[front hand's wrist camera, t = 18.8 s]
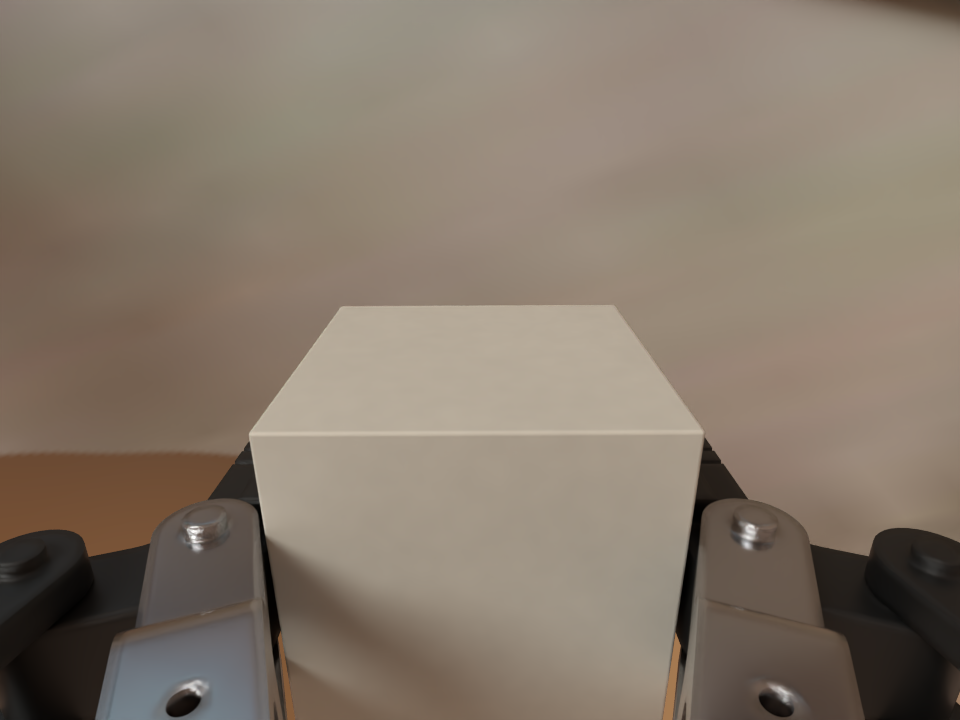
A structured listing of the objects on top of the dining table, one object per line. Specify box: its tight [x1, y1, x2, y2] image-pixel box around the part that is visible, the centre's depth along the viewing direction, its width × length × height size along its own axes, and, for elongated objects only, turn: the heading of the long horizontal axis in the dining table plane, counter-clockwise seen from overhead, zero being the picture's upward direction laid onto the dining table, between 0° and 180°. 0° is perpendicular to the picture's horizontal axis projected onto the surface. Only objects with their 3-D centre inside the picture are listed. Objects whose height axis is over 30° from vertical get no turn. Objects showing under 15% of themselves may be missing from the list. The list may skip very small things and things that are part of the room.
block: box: [249, 305, 705, 720], centre depth 10 cm, size 5×5×5 cm
